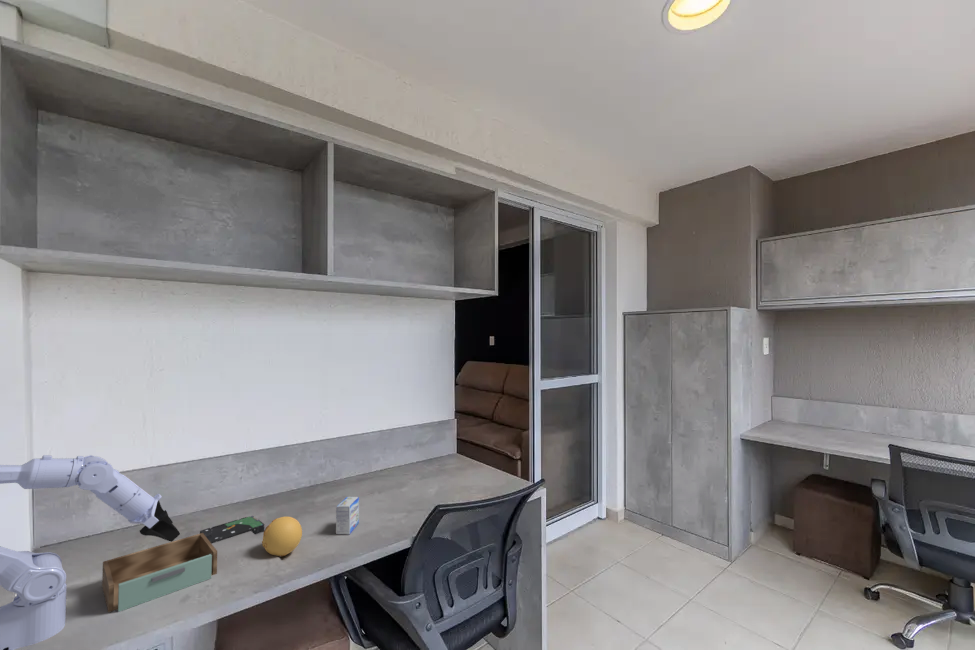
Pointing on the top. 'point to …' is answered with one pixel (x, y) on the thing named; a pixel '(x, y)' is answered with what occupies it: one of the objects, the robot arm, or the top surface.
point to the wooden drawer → (152, 563)
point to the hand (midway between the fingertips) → (172, 531)
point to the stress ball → (282, 536)
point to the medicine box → (347, 515)
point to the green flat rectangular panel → (163, 582)
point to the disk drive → (233, 529)
